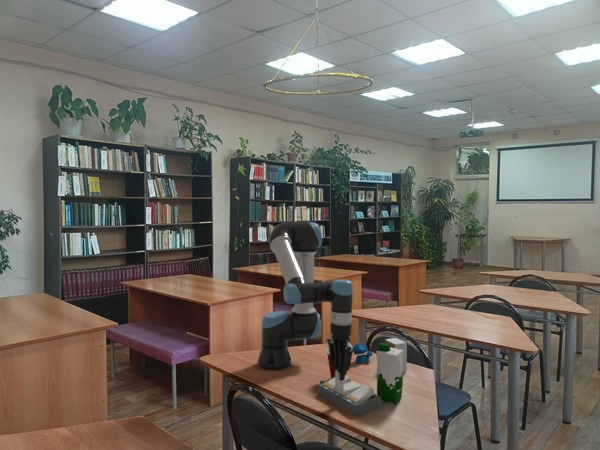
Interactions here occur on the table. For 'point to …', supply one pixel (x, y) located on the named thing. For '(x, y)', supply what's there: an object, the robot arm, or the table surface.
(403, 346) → the small box
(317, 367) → the table surface
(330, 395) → the grey compartment tray
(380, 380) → the milk carton
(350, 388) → the rocker
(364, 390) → the rocker
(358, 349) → the blue toy figurine
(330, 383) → the rocker
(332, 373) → the plastic cup
